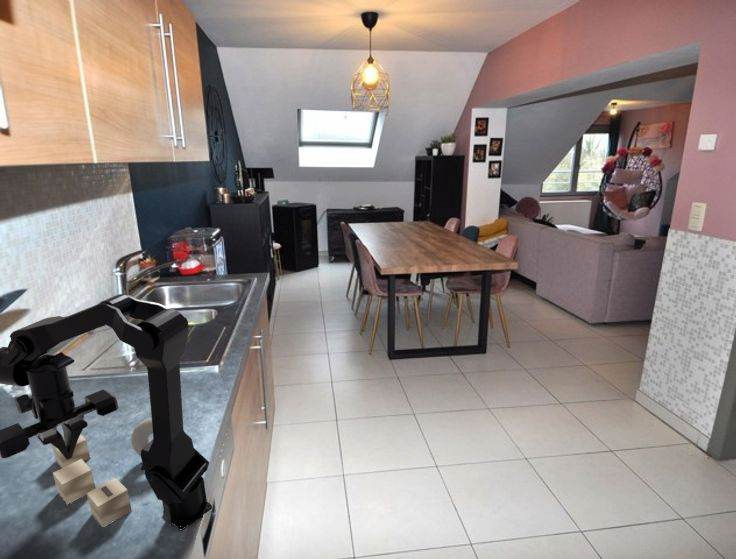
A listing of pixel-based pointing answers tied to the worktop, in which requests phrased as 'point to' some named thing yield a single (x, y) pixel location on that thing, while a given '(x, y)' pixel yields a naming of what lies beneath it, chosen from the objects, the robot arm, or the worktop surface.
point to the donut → (141, 435)
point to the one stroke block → (109, 502)
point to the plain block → (74, 481)
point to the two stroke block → (79, 453)
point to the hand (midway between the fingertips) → (68, 458)
